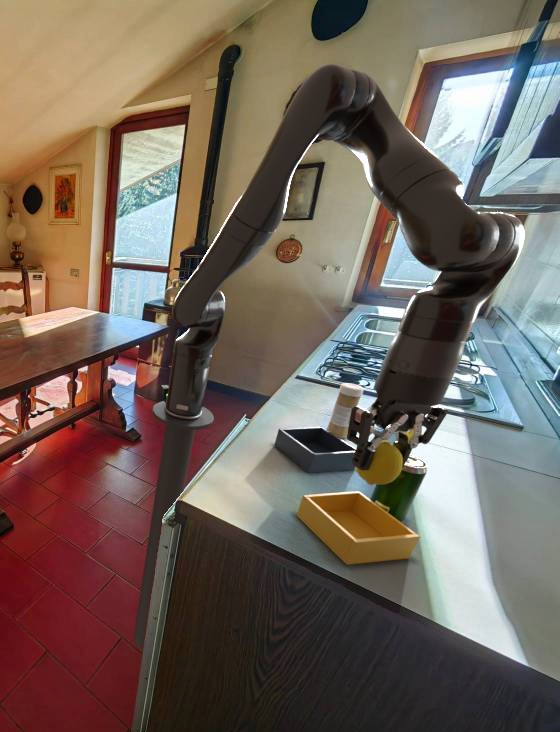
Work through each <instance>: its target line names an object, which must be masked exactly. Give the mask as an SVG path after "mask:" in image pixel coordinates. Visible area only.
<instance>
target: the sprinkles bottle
mask: <svg viewBox="0 0 560 732" xmlns="http://www.w3.org/2000/svg"><path fill="white" fill-rule="evenodd" d="M364 390H365V388H364V387H363V386H361V385H358V384H355V383H351V382H343V383H341V384H340V386H339V389H338V394H337V398H336V401H335V403H334V406H333V408H332V411H331V414H330V417H329V422H328V424H327V427H326V428H325V429H326V430H328V431H329V432H331V433H332V434H334V435H335V436H337V437H339V438H340V439H345V438H347V433H348V427H349V421H350V416H351V410H352V408H353V407H355V406H358V405H359V403H360V399H361V398H362V396H363V394H364Z"/></svg>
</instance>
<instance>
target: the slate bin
mask: <svg viewBox="0 0 560 732" xmlns="http://www.w3.org/2000/svg"><path fill="white" fill-rule="evenodd" d="M326 429H327V428H324V427H323V426H308V427H287V428H278V430H277V434H276V437H275V441H274V444H273V446H274V447H275V448H277V449H278V450H279V451H281V453H283V454H284V455H285V456H287V457H288V458H289V459H290V460H291V461H293V462H294V463H295V464H296V465H298V466H299V467H300V468H301V469H303V470H304V471H305V472H307V474H312V473H327V472H340V471H341V472H342V471H343V472H344V471H355V470H356V467H355V466H354V465H353V462H352V458H353V457H354V453H355V450H356V448H357V447H355V446H353V445H351V444H350V443H348V442H347V441H345V440H343V438H339V437H337V436H335V435H334V434H332V433H331V432H329V431H328V430H326Z"/></svg>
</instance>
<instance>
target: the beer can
mask: <svg viewBox="0 0 560 732" xmlns="http://www.w3.org/2000/svg"><path fill="white" fill-rule="evenodd" d="M428 466H429V465H428V463H427V462H426V461H425V460H423V459H422V458H420V457H418V456H415V455H413V454H410V455H409V457H408V460H407V462H406V463H405V465H404V467H403V468H402V470H401V472H400V474H399V475H398V477H397V478H396V479H395V480H394V481H392V482H390V483H387V484H382V485H378V484H375V486H374V488H373V491H372V494H371V496H370V498H369V499H370V500H372V501H373V502H374V503H376V504H377V505H378V506H380V507H381V508H382V509H384V510H385V511H386V512H388V513H389V514H390V515H392V516H393V517H394V518H396V519H397V520H398V521H400V522H401V523H403V521H405V520H406V517H407V515H408V513H409V511H410V509H411V507H412V505H413V502H414V500H415V498H416V497H417V494H418V492H419V490H420V487H421V485H422V484H423V481H424V479H425V477H426V475H427V473H428V469H427V468H428Z"/></svg>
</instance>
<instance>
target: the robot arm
mask: <svg viewBox="0 0 560 732" xmlns="http://www.w3.org/2000/svg"><path fill="white" fill-rule="evenodd" d="M316 139H318V140H321V141H332V142H334V143H336V144H339V145H340V146H342V147H343V148H345V149H347V150H348V151H350V152H351V153H352V154H353V155H354V156H355V157H356V158H357V159H358V161H359V162H360V163H361V165H362V168H363V171H364V172H363V173H364V176H365V179H366V182H367V185H368V187H369V189H370V191H371V193H372V194H373V195H374V196H375V197H376V198H377V200H378V201H379V202H380V203H381V204H382V206H383V207H384V208H385V209H386V210H387V211H388V212H389V214H390V215H391V216H392V217H393V218H394V219H396V221H397V222H398V225H399V228H400V231H401V234H402V236H403V238H404V241H405V243H406V246H407V248H408V250H409V251H410V253H411V255H412V256H413V257H414V258H415V259H416V260H417V261H418V262H419V263H420V264H421V265H423V266H424V267H426V268H428V269H429V270H432V271H436V272H439V273H438V274H437V276H436V277H435V279H434V281H433V282H432V284H430V285H429V286H428V287H427V288H424V289H421V290H419V291H416V292H415V293H413V295H412V296H411V297H410V298H409V300H408V302H407V304H406V307H405V309H404V312H403V315H402V317H401V320H400V323H399V326H398V327H397V330H396V332H395V335H394V336H393V338H392V340H391V342H390V344H389V346H388V349H387V351H386V353H385V356H384V359H383V361H382V364H381V367H380V370H379V373H378V375H377V378H376V381H375V383H374V385H373V386H374V387H373V389H374V391H375V392H376V399H375V400H374V401H373V402H372V404H371V405H370V406H368V407H364V408H362V407H360V406H358V405H357V406H355V407H353V408H352V410H351V416H350V421H349V427H348V433H347V437H346V440H348V441H349V442H351V443H352V444H354V445H356V447H355V448H356V450H355V453H354V457H353V458H352V462H353V465H354V466H356V467H357V468H359V469H360V470H362V471H363V470H368V469H369V467H370V464H371V462H372V459H373V457H374V454H375V452H376V451H375V449H376V448H377V447H378V446H379V444H380V443H381V442H382V441H388V440H389V439H390V438H391V437H392V435H393V434H395V440H396V441H393V443H392V445H394V446H395V447H396V448H397V449H398V450H399V451H400V453H401V454H402V458H403V465H402V468H403V467H404V465H405V463H406V462H407V460H408V457H409V455H411V453H412V450H413V449H416V448H417V447H418V446H419V444H423V445H428V444H429V443H430V441H431V440H432V439H433V437H434V435H435V434H436V432H437V431H438V429H439V427H440V426H441V424H442V422H443V421H444V419H445V418H446V416H447V415H448V413H449V410H448V409H446V408H443V407H442V406H439V405H440V404H441V403H443V400H444V398H445V395H446V394H447V391H448V388H449V387H450V384H451V382H452V380H453V378H454V376H455V374H456V371H457V369H458V366H459V365H460V363H461V360H462V357H463V353H464V350H465V346H466V343H467V340H468V338H469V337H470V334H471V332H472V330H473V328H474V325H475V323H476V320H477V318H478V315H479V312H480V311H481V309H482V307H483V305H484V304H485V303H486V302H487V301H488V299H489V298H490V297H491V296H492V295H493V294H494V293H495V291H497V290H496V289H498V287H499V286H500V284H501V283H502V282H503V280H504V279H505V278H506V276H507V275H508V273H509V272H510V271H511V269H512V268H513V267H514V266H515V264H516V263H517V261H518V258H519V257H520V255H521V252H522V250H523V247H524V245H525V241H526V240H525V239H526V230H525V229H526V228H525V226H524V224H523V222H522V221H521V220H520V219H519V218H518V217H517V216H515V215H513V214H510V213H506V212H498V211H497V212H495V211H494V212H493V211H476V210H474V209H473V208H472V207H470V206H469V205H467V204H466V202H465V201H464V200H463V198H462V197H463V196H464V194H465V184H464V183H463V181H462V179H461V178H460V177H459V176H458V174H456V172H454V170H453V169H451V168H450V167H449V166H448V165H447V164H446V163H445V162H444V161H443V160H442V159H440V158H439V157H438V155H436V154H435V153H434V152H433V151H432V150H430V149H429V148H428V147H427V146H426V145H425V144H424V143H423V142H422V141H420V140H419V139H418V138H417V137H416V136H415V135H414V134H413V133H412V132H411V131H410V130H409V128H407V126H406V125H405V124H404V123H403V122H402V121H401V119H400V118H399V117H398V115H397V114H396V112H395V111H394V109H393V108H392V106H391V104H390V102H389V101H388V99H387V97H386V96H385V94H384V92H383V90H382V88H380V86H379V84H378V82H376V80H375V79H374V77H373V76H371V75H370V74H369V73H366V72H364V71H360V70H356V69H354V68H351V67H348V66H344V65H341V64H337V63H328V64H324V65H322V66H320V67H318V68H317V69H316V70H314V71H313V72H312V73H311V74H310V75H309V76H308V77H307V78H306V79H305V80H304V81H303V83H302V84H301V86H299V88H298V90H297V91H296V93H295V94H294V96H293V97H292V98H291V101H290V103H289V105H288V107H287V109H286V111H285V113H284V115H283V116H282V119H281V121H280V123H279V125H278V127H277V128H276V131H275V133H274V135H273V137H272V139H271V141H270V143H269V145H268V148H267V149H266V151H265V153H264V155H263V157H262V159H261V161H260V162H259V165H258V166H257V168H256V169H255V172H254V173H253V175H252V177H251V178H250V180H249V182H248V184H247V186H246V187H245V189H244V191H243V193H242V194H241V195H240V197H239V199H238V200H237V202H236V203H235V205H234V206H233V208H232V209H231V211H230V213H229V215H228V217H227V218H226V219H225V222H224V223H223V225H222V227H221V228H220V231H219V233H218V234H217V236H216V237H215V239H214V241H213V243H212V244H211V246H210V247H209V249H208V250H207V252H206V254H205V255H204V257H203V259H202V260H201V262H200V263H199V265H198V266H197V268H196V269H195V270H194V272H192V275H191V276H190V277H189V279H187V281H186V282H185V284H184V285H183V286H182V287H181V289H180V291H179V292H178V294H177V295H176V297H175V299H174V301H173V303H172V311H171V314H172V315H171V316H172V319H173V321H174V322H175V324H176V325H177V326H179V327H182V328H185V329H186V328H187V329H188V330H187V331H186V332H184V333H183V334H182V335H181V336H179V337H178V338H177V339H176V340H175V342H174V345H173V351H172V352H173V353H172V359H171V360H172V361H171V365H170V366H171V367H170V374H169V378H168V383H167V384H161V385H160V391H159V393H160V394H161V395H162V398H163V401H164V402H165V403H166V404H165V412H166V413H167V414H168V415H169V416H171V417H173V418H176V419H180V420H196V419H199V418H200V417H201V413H202V407H203V404H204V400H205V395H206V390H207V384H208V378H209V373H210V369H211V364H212V363H211V362H212V356H213V352H214V349H215V347H216V346H217V345H218V342H219V339H220V337H221V332H222V327H223V323H224V319H225V315H226V299H225V296H224V293H223V292H222V291H221V290H219V288H220V287H221V286H222V285H224V283H225V282H226V281H227V280H228V279H230V278H231V277H232V276H233V275H234V274H236V273H237V272H238V271H240V270H241V269H242V268H243V267H245V266H246V265H247V264H248V263H250V262H251V261H252V260H253V259H254V258H255V257H257V255H258V254H259V253H260V252H261V251H262V250H263V249H264V248H265V246H266V245H267V243H268V242H269V241H270V239H271V238H272V236H273V235H274V234H275V232H276V231H277V229H278V228H279V226H281V225H280V224H281V223H282V221H283V219H284V217H285V214H286V209H287V205H288V204H287V203H288V197H289V190H290V185H291V181H292V178H293V175H294V173H295V170H296V169H297V167H298V165H299V163H300V162H301V160H302V159H303V157H304V155H305V154H306V152H307V150H308V149H309V147H310V146H311V145H312V143H314V141H315V140H316ZM375 426H376V427H378V428H380V429H382V431H381V430H378V429H377V428H376V427H375ZM423 428H425V431H424V432H422V431H423ZM372 434H373V435H374V437H373V438H372V439H371V440H369V439H370V436H371V435H372ZM356 467H355V468H356Z"/></svg>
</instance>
